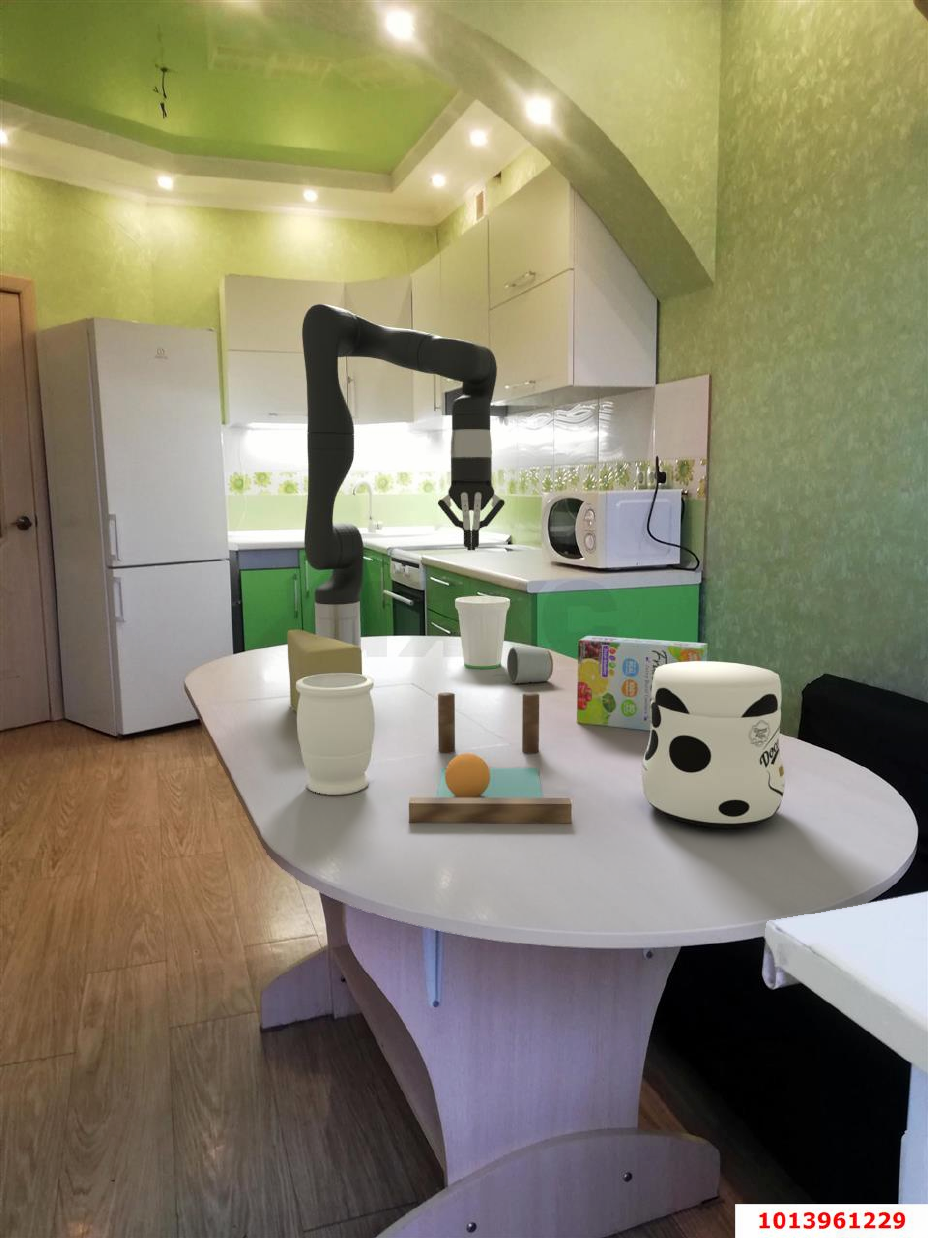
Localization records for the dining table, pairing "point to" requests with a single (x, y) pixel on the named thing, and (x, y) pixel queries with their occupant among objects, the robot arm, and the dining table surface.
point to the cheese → (318, 658)
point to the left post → (446, 722)
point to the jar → (336, 731)
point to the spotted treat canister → (714, 744)
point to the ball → (467, 776)
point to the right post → (530, 723)
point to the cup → (482, 629)
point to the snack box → (624, 677)
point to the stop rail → (489, 810)
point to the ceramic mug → (529, 664)
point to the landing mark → (503, 784)
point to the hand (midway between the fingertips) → (471, 550)
